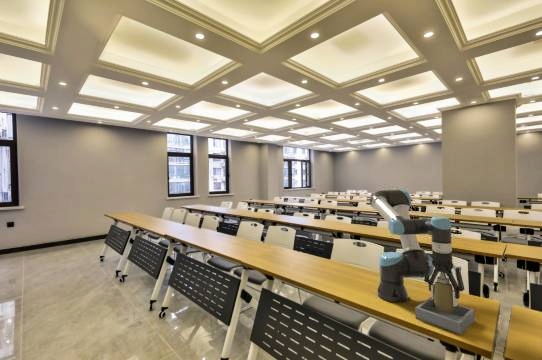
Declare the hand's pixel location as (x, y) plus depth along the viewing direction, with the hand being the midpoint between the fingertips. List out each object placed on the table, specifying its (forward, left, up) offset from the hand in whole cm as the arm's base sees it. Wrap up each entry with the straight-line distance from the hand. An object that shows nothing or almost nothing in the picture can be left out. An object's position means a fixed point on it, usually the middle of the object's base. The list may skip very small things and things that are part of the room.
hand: (444, 301), depth 116 cm
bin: (0, 0, -8) cm, 8 cm away
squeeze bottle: (0, 0, -4) cm, 4 cm away
